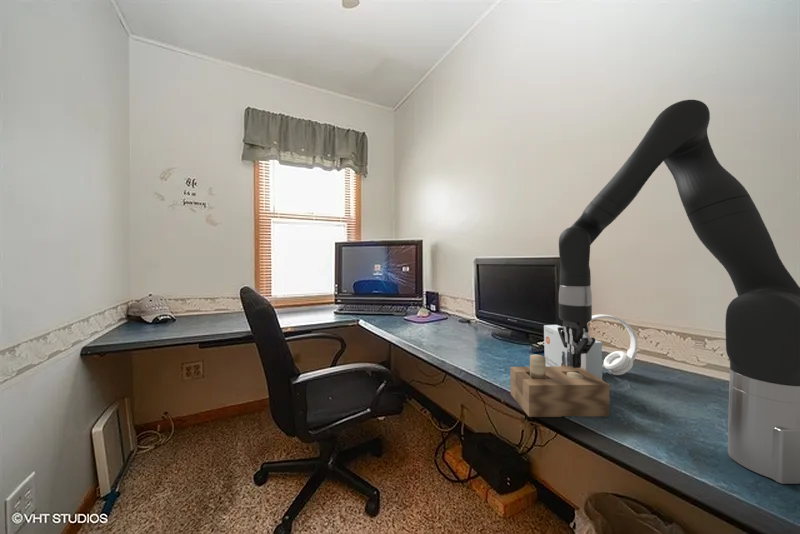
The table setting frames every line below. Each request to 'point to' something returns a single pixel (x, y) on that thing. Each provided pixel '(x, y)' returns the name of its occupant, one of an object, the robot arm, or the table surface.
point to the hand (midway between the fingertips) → (575, 366)
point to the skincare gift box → (560, 354)
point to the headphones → (619, 359)
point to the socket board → (560, 393)
